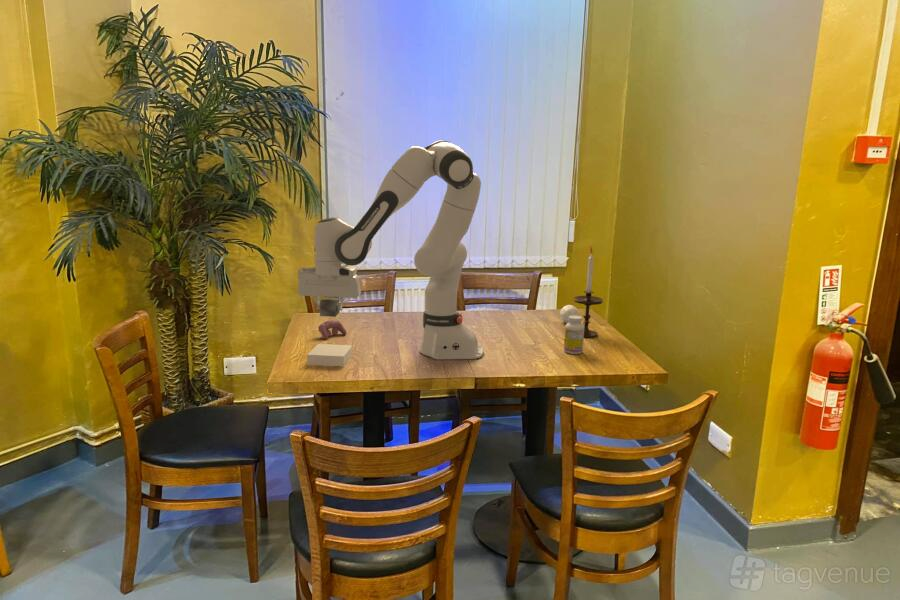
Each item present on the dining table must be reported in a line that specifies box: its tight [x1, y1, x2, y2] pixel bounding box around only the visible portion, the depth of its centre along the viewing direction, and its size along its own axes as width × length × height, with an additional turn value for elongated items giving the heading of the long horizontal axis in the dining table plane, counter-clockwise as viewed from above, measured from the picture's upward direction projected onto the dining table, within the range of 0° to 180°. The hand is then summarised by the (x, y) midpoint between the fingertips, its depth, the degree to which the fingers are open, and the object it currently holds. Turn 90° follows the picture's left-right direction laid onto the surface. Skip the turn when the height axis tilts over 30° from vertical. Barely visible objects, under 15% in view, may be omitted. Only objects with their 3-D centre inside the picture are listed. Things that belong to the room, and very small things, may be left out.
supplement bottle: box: [563, 315, 585, 355], centre depth 225 cm, size 7×7×13 cm
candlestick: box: [573, 246, 603, 339], centre depth 244 cm, size 11×11×35 cm
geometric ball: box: [559, 304, 580, 324], centre depth 264 cm, size 8×8×8 cm
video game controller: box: [318, 319, 347, 340], centre depth 240 cm, size 10×5×7 cm, turn 136°
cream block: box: [306, 343, 354, 368], centre depth 212 cm, size 12×12×4 cm
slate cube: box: [319, 297, 340, 318], centre depth 209 cm, size 5×5×5 cm
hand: (329, 309), depth 209 cm, fingers closed on slate cube, 5 cm apart
